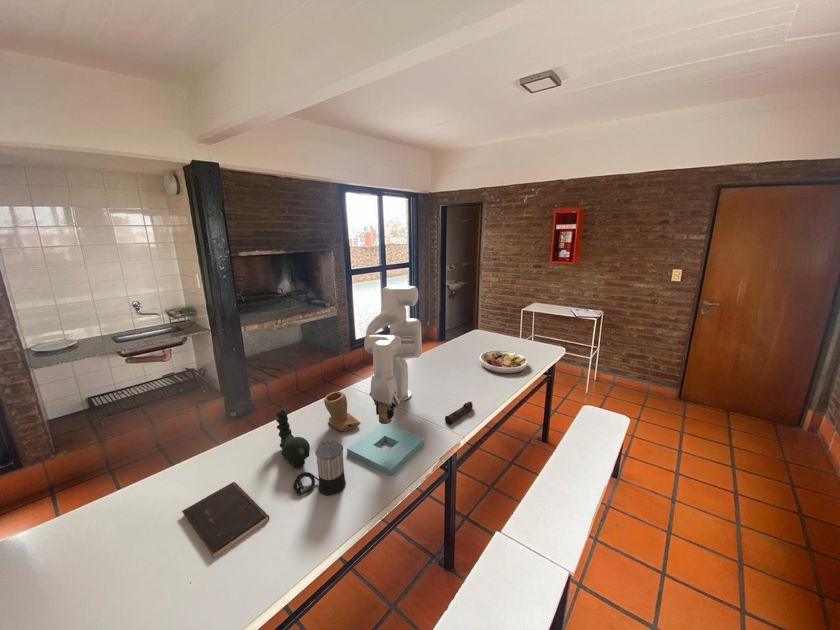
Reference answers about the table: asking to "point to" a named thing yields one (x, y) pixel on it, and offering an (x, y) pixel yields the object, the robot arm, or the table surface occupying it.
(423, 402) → the table surface
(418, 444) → the square hole plate
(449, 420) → the hand tool
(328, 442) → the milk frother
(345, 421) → the tan boot-shaped piece
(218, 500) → the hardcover book
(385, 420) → the cylinder
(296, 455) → the toy figurine
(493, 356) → the bowl
